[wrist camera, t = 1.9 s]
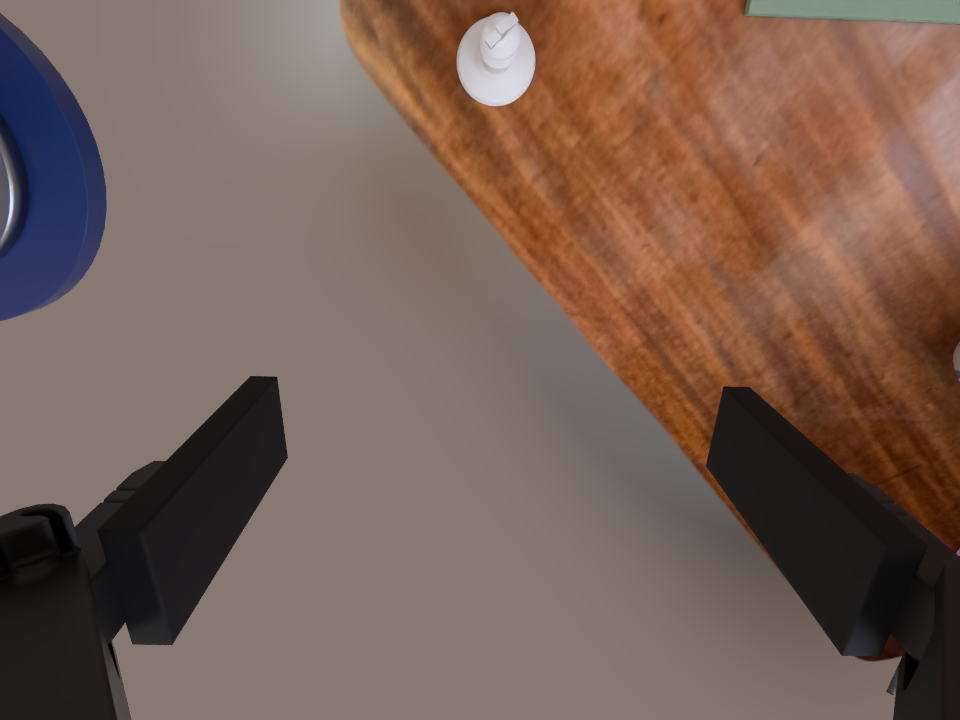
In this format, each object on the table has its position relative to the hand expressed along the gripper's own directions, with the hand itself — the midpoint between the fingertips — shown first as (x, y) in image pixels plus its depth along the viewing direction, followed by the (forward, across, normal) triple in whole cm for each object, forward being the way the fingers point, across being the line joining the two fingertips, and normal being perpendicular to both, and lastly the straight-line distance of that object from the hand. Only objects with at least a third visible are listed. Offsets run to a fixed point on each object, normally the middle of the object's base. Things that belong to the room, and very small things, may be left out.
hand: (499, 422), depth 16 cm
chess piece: (+24, 0, +12) cm, 27 cm away
